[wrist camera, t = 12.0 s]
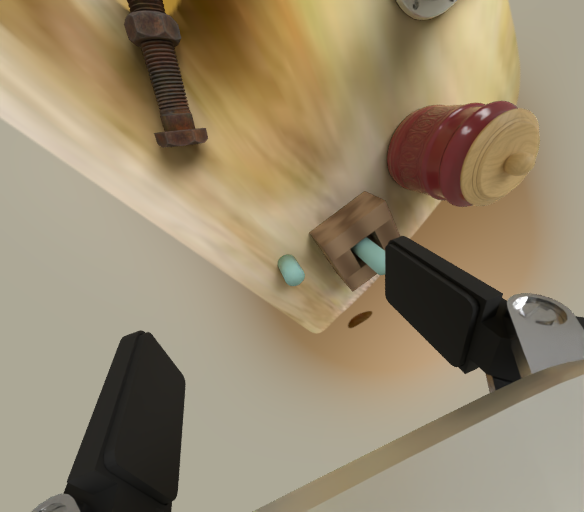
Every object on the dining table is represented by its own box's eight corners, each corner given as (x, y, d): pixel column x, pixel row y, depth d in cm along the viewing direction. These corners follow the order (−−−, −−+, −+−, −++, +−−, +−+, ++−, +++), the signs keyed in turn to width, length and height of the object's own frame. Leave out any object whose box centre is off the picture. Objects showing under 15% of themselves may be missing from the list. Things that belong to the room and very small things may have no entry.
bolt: (152, -12, 26) (192, 142, 33) (97, -26, 23) (154, 147, 30) (176, -39, 23) (215, 141, 30) (114, -60, 20) (174, 147, 27)
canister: (460, 108, 41) (603, 102, 26) (435, 186, 47) (540, 217, 33) (395, 102, 38) (518, 92, 23) (377, 188, 44) (465, 224, 29)
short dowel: (293, 252, 45) (302, 265, 40) (297, 267, 46) (306, 281, 42) (275, 258, 44) (283, 272, 40) (280, 273, 46) (287, 288, 42)
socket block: (364, 191, 43) (385, 200, 38) (386, 238, 50) (406, 252, 45) (309, 232, 44) (322, 247, 39) (337, 274, 50) (352, 291, 45)
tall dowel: (357, 225, 46) (395, 252, 37) (358, 241, 48) (394, 270, 39) (340, 231, 46) (374, 260, 36) (342, 246, 47) (375, 277, 38)
